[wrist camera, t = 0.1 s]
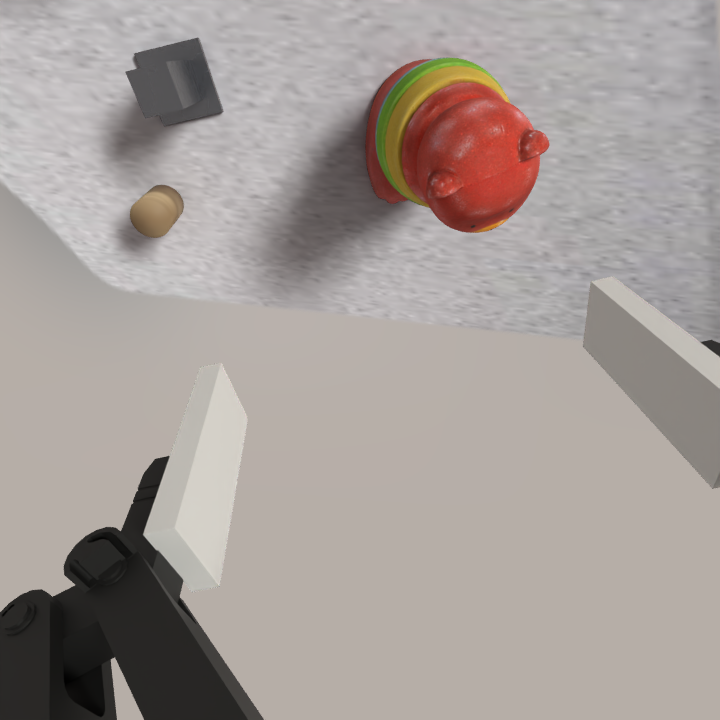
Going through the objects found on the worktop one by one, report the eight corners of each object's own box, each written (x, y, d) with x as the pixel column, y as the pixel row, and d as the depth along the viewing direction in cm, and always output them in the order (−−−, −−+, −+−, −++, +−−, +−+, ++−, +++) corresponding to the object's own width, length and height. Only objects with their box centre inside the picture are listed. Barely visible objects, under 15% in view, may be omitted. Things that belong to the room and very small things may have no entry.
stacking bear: (377, 207, 41) (415, 296, 26) (343, 83, 35) (367, 109, 20) (493, 169, 40) (599, 239, 25) (478, 34, 34) (604, 24, 19)
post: (135, 53, 32) (98, 54, 27) (198, 37, 32) (175, 35, 27) (165, 125, 35) (137, 140, 30) (223, 111, 35) (206, 123, 29)
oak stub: (140, 189, 38) (122, 204, 34) (174, 181, 38) (160, 195, 34) (157, 223, 40) (141, 241, 36) (189, 215, 39) (177, 233, 36)
